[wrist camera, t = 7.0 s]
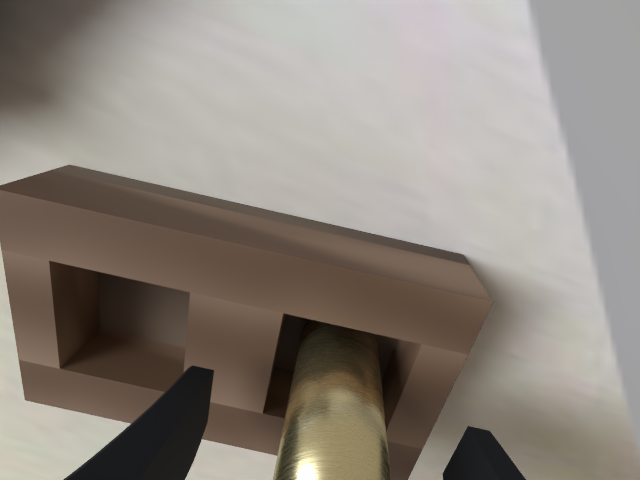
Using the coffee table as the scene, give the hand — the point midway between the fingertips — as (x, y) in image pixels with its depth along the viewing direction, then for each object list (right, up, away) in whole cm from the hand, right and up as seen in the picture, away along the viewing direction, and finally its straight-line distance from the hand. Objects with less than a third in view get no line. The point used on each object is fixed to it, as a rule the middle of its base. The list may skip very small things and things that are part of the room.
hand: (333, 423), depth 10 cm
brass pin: (0, +1, +3) cm, 4 cm away
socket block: (-3, +3, +4) cm, 6 cm away
